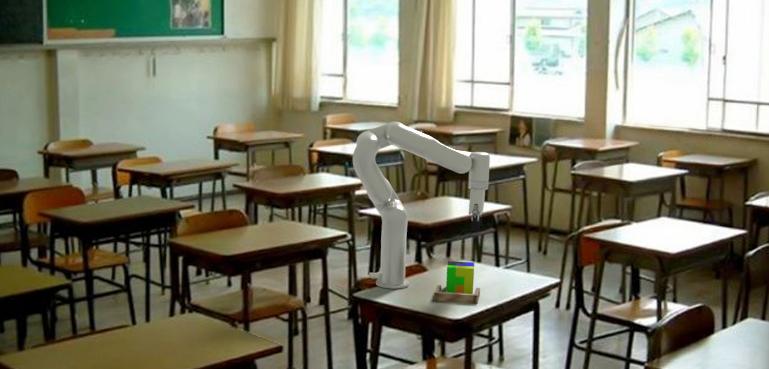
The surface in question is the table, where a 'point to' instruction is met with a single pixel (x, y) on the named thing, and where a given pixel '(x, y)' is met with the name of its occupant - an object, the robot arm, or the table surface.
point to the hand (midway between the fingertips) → (476, 228)
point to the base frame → (456, 296)
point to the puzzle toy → (460, 277)
